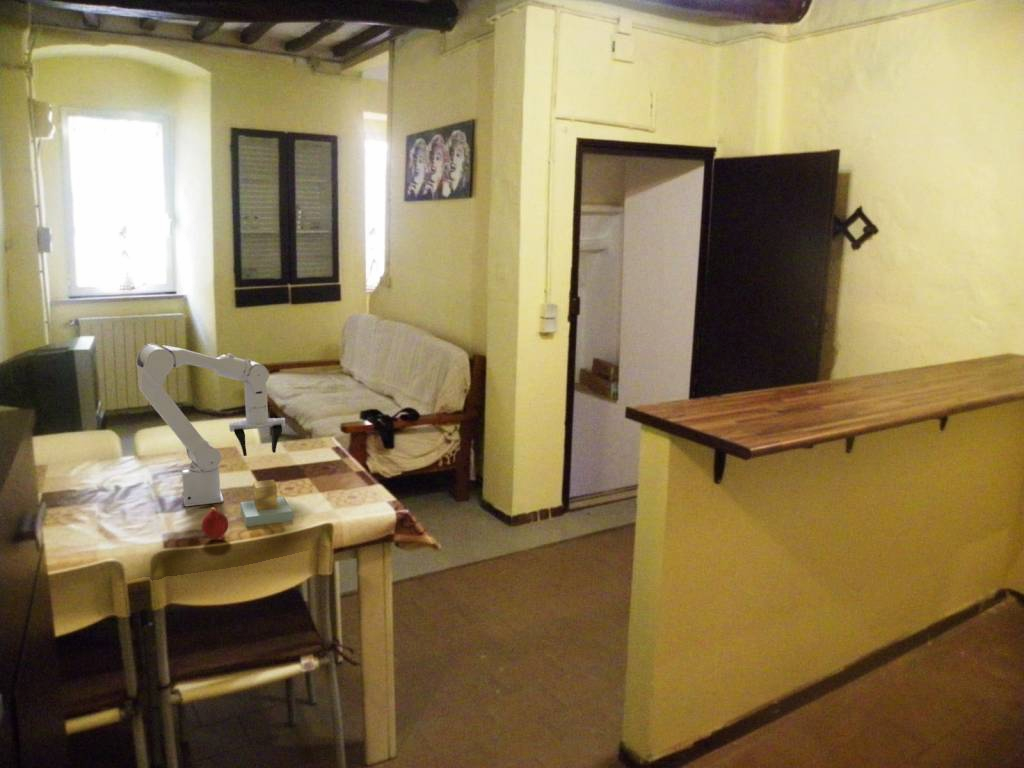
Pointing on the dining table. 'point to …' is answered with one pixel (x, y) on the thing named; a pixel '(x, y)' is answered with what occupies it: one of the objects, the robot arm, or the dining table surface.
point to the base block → (265, 513)
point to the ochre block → (265, 495)
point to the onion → (214, 524)
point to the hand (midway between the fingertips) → (259, 453)
